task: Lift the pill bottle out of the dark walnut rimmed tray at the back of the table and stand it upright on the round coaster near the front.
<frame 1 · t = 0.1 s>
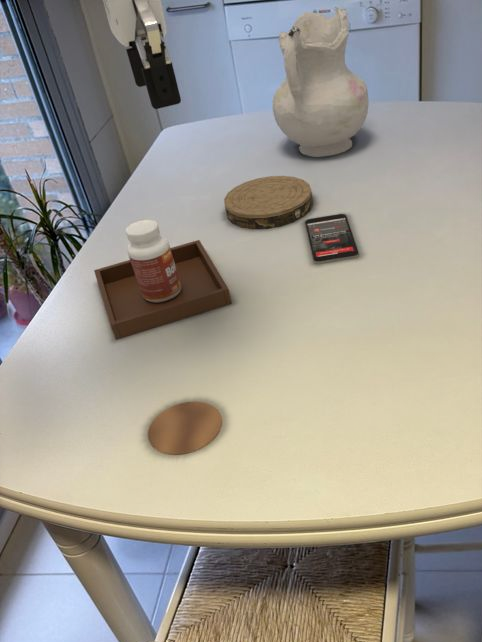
hand: (158, 94, 74), 31 cm above the table, tool pointing down, fingers open, 9 cm apart
ceramic pitcher: (324, 151, 136), on the table
coaster: (186, 429, 78), on the table
tray: (163, 295, 101), on the table
smartphone: (331, 241, 108), on the table
pill bottle: (163, 294, 101), resting on tray
wood log slice: (270, 211, 119), on the table
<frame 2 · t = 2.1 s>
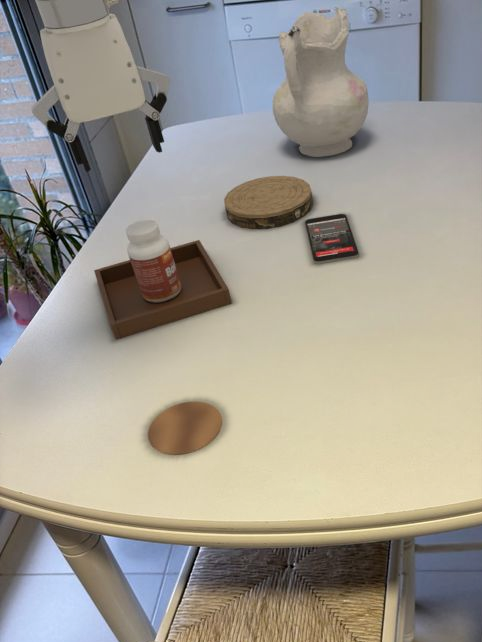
hand: (123, 158, 86), 21 cm above the table, tool pointing down, fingers open, 9 cm apart
nothing on the table moved.
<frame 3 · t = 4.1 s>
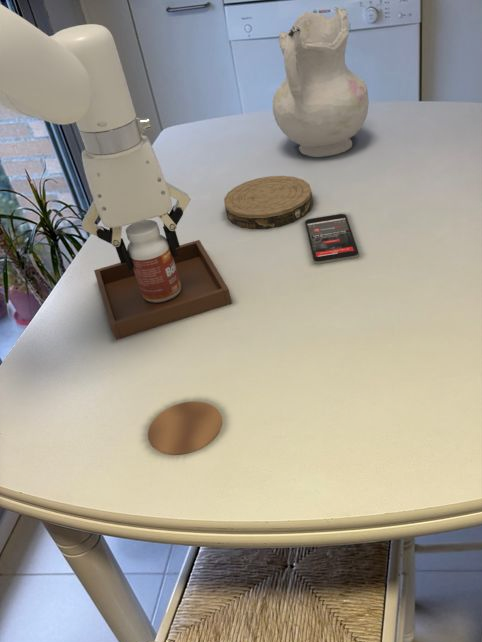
hand: (151, 258, 97), 6 cm above the table, tool pointing down, fingers closed on pill bottle, 6 cm apart
pill bottle: (163, 294, 101), resting on tray, touching gripper
everything else where it was.
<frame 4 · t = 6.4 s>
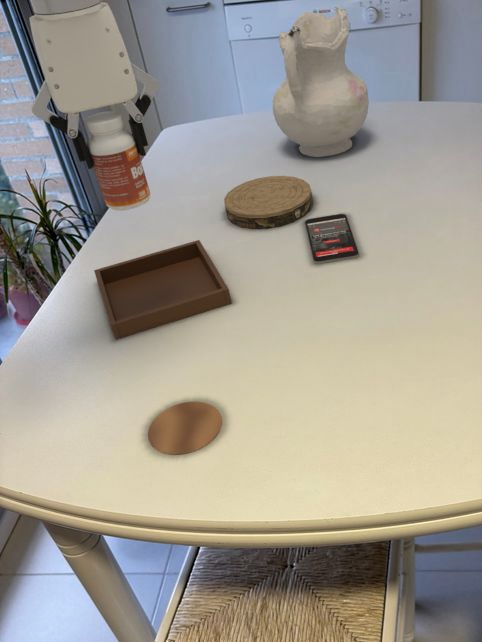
hand: (115, 157, 84), 22 cm above the table, tool pointing down, fingers closed on pill bottle, 6 cm apart
pill bottle: (129, 203, 89), point 16 cm above the table, touching gripper
everything else where it was.
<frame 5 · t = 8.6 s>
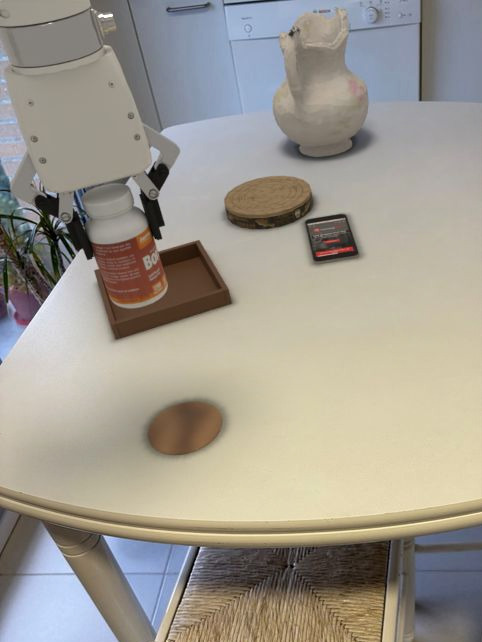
hand: (122, 242, 64), 23 cm above the table, tool pointing down, fingers closed on pill bottle, 6 cm apart
pill bottle: (140, 295, 69), point 17 cm above the table, touching gripper
everything else where it was.
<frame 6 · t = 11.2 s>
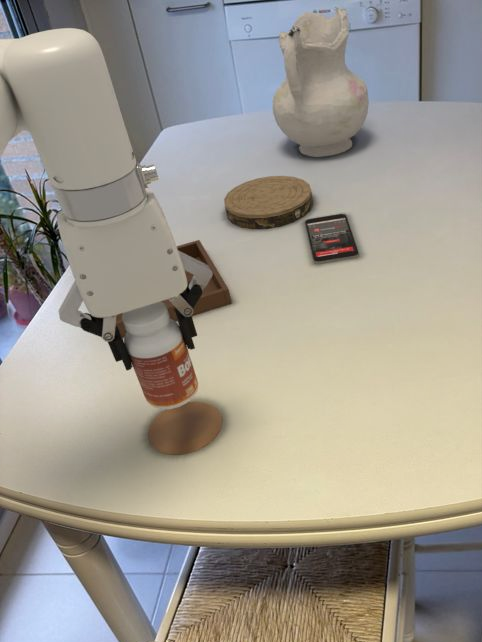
hand: (158, 351, 70), 12 cm above the table, tool pointing down, fingers closed on pill bottle, 6 cm apart
pill bottle: (173, 394, 74), point 6 cm above the table, touching gripper
everything else where it was.
when the fingers open (7 cm above the table, at t = 13.0 s): pill bottle stays where it is, resting on coaster.
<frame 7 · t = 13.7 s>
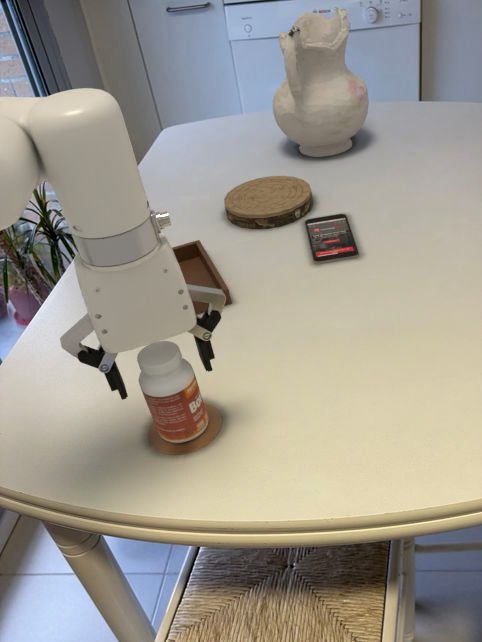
hand: (165, 378, 72), 8 cm above the table, tool pointing down, fingers open, 9 cm apart
pill bottle: (184, 427, 78), resting on coaster
everything else where it was.
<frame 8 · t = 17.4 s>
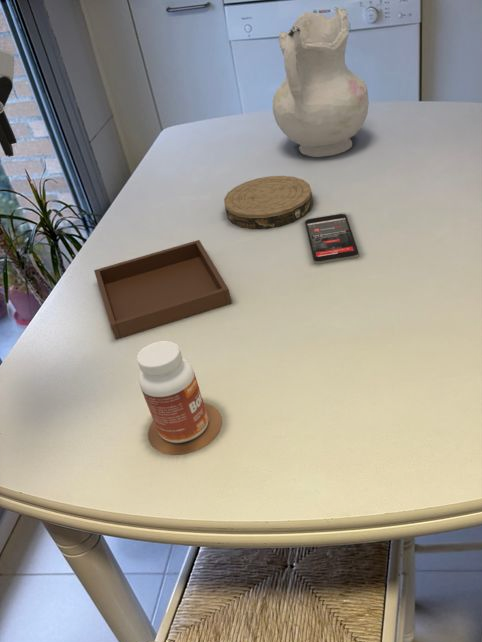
nothing on the table moved.
at the end: pill bottle 0.1 cm off-centre on the coaster, point 0.4 cm above the coaster's base; pill bottle tilted 0°; pill bottle touching coaster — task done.
